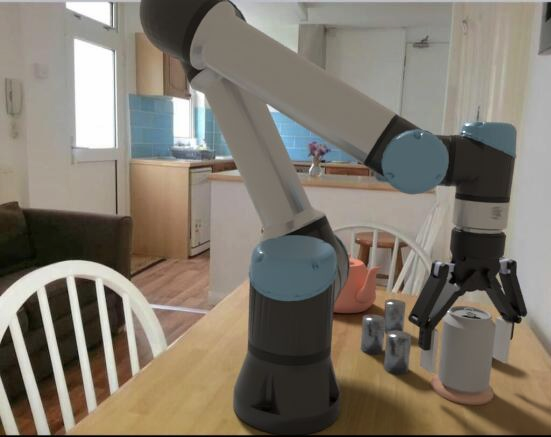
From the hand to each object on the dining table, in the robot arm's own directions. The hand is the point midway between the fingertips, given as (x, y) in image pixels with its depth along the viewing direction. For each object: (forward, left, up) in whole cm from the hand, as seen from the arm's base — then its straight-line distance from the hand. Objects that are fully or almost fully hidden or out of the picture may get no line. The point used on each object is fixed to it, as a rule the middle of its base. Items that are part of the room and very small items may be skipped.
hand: (464, 364), depth 77 cm
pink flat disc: (0, 0, -4) cm, 4 cm away
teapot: (0, +40, -4) cm, 40 cm away
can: (0, 0, -4) cm, 4 cm away
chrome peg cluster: (+3, +16, -4) cm, 17 cm away
